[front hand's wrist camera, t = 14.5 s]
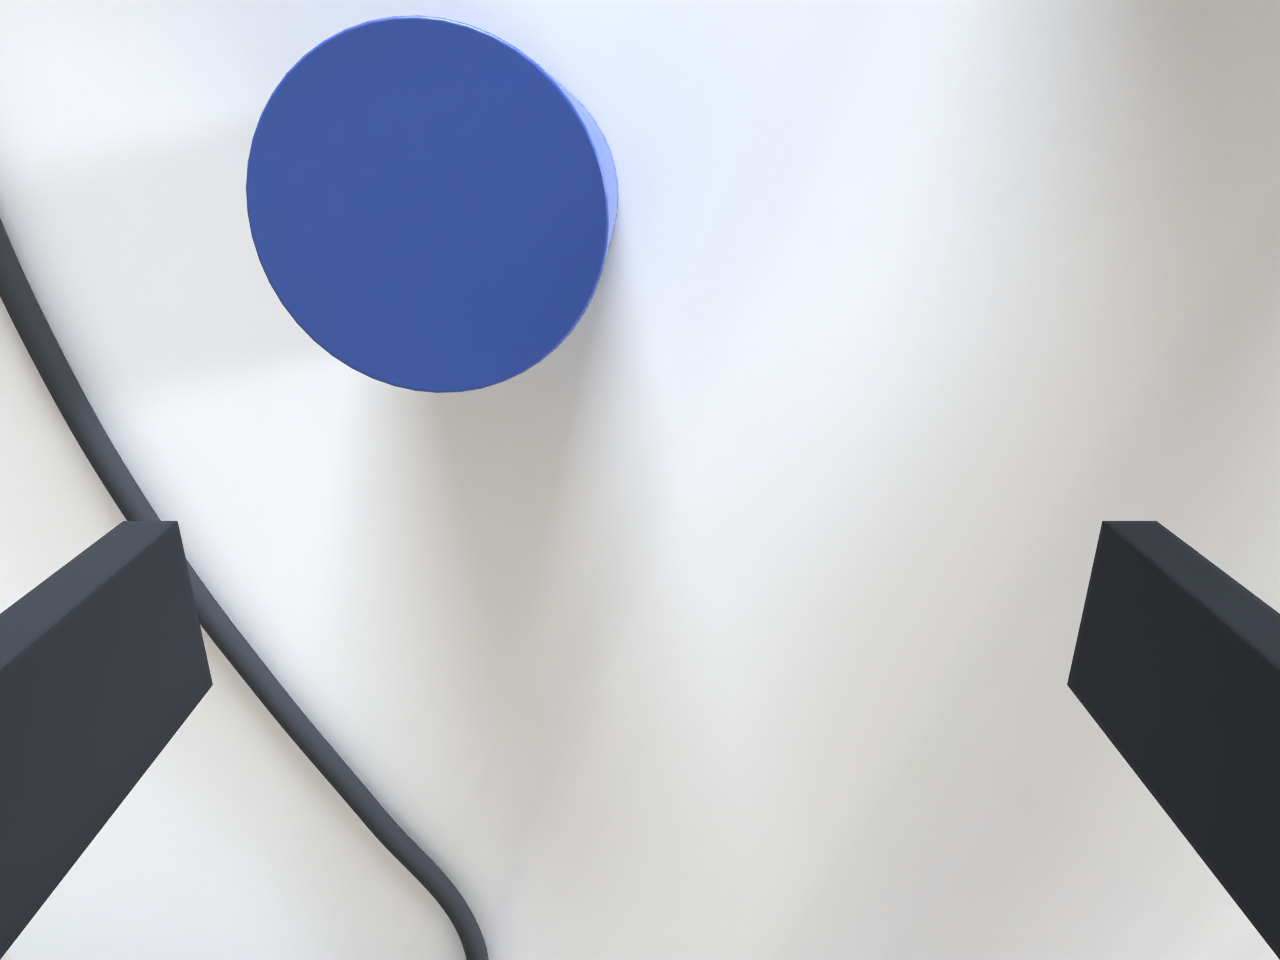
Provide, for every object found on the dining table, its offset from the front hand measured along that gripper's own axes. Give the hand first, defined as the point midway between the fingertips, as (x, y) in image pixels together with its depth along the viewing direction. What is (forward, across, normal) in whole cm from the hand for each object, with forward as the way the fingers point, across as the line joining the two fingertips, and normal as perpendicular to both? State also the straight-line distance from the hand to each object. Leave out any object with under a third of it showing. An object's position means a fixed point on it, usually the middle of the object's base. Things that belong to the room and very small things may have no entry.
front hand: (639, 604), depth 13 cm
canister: (+20, +5, -4) cm, 21 cm away
